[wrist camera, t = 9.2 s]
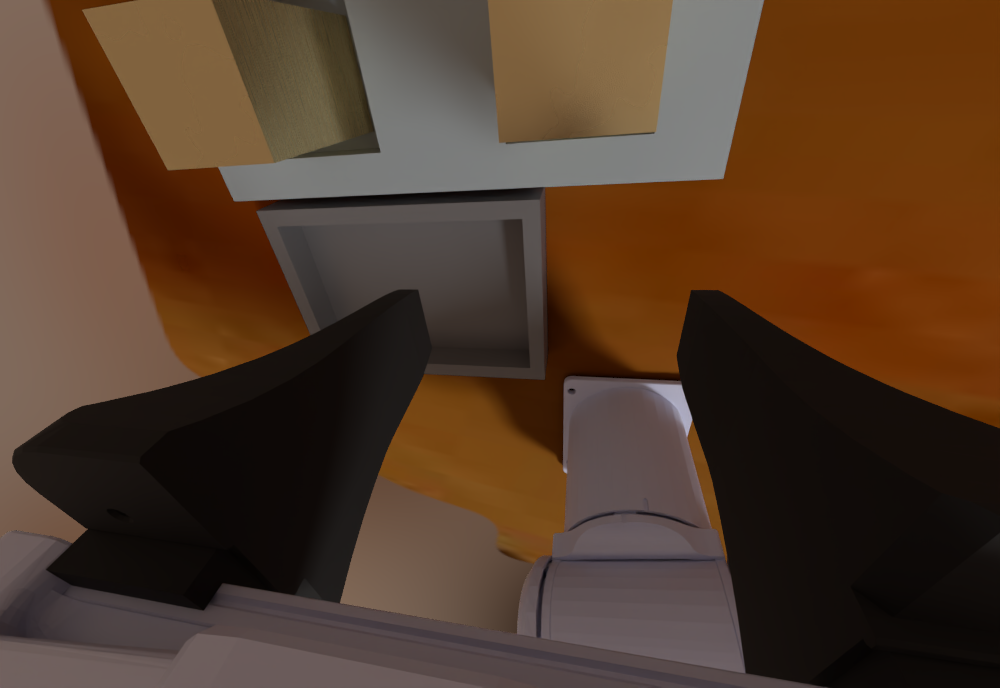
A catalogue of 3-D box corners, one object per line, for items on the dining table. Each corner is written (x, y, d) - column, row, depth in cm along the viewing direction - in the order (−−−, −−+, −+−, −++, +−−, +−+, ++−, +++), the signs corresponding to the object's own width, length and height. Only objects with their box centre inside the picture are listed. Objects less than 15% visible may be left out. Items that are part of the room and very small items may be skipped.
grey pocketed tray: (706, 165, 17) (723, 178, 15) (267, 188, 21) (234, 201, 19) (772, -159, 12) (810, -205, 10) (173, -41, 16) (114, -56, 14)
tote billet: (374, 131, 17) (274, 163, 12) (295, 137, 18) (167, 170, 13) (346, 15, 15) (206, -13, 10) (258, 28, 16) (82, 10, 10)
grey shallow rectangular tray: (548, 353, 24) (544, 379, 22) (345, 346, 27) (325, 368, 25) (544, 184, 18) (540, 199, 16) (287, 197, 21) (256, 211, 19)
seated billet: (630, 106, 15) (656, 131, 10) (529, 115, 16) (498, 142, 10) (643, -33, 13) (686, -105, 7) (524, -15, 14) (482, -69, 8)
